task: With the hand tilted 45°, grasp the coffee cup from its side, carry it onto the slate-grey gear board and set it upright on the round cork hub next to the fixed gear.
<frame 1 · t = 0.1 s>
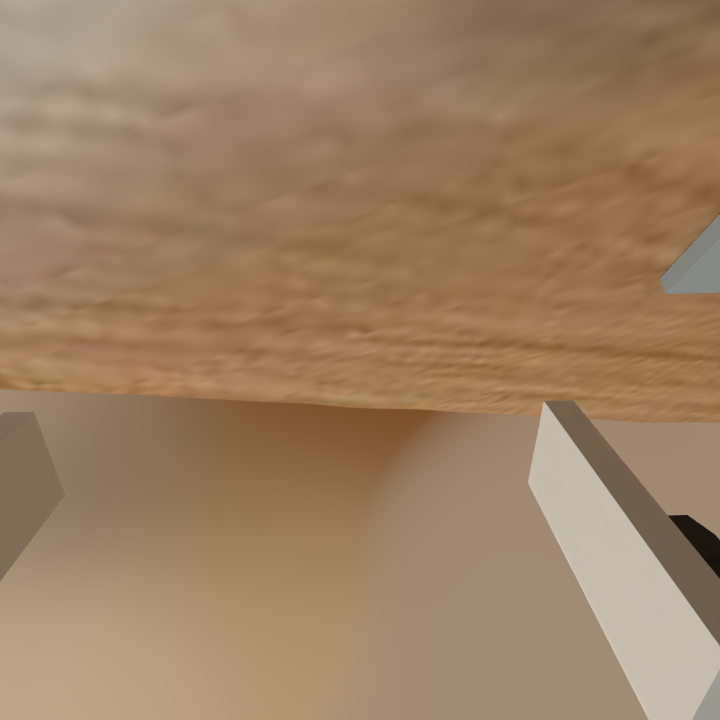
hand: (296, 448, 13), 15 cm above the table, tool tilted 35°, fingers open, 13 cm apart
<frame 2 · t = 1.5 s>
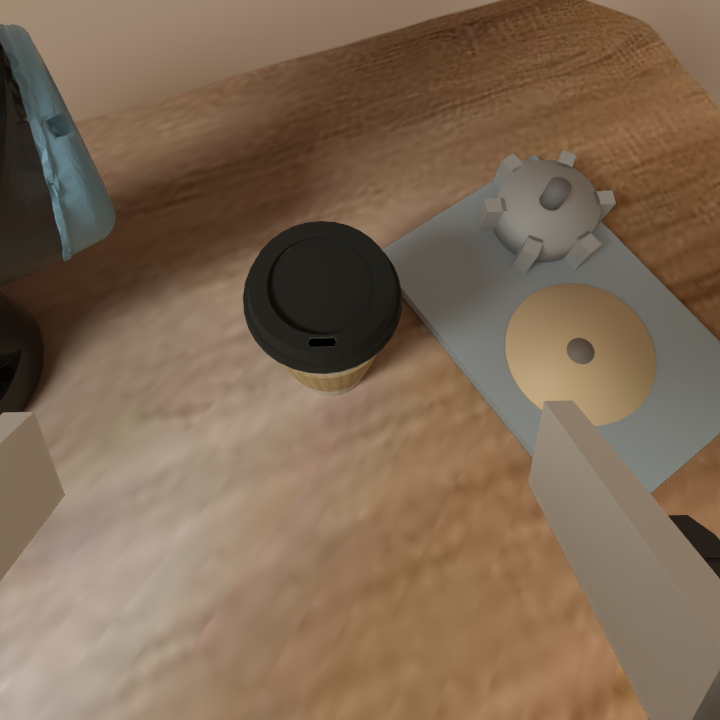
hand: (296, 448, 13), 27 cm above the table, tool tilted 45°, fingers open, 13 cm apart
gear board: (558, 325, 43), on the table
coffee cup: (330, 362, 42), on the table
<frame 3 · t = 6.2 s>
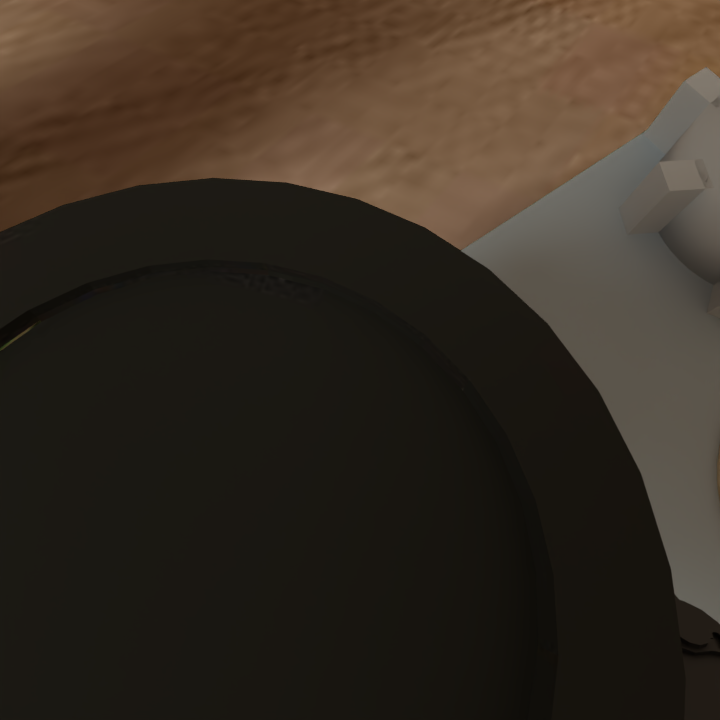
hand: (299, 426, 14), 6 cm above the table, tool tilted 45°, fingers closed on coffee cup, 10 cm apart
coffee cup: (314, 533, 18), on the table, touching gripper
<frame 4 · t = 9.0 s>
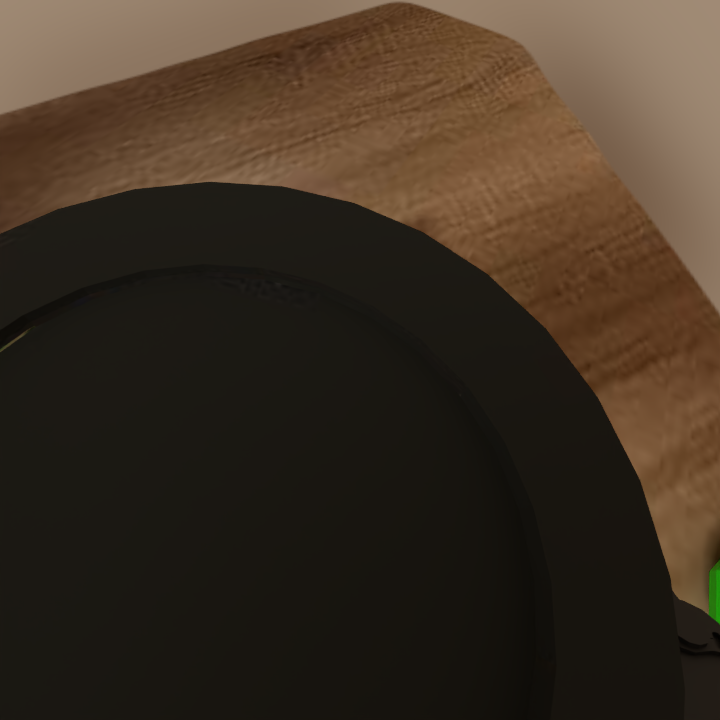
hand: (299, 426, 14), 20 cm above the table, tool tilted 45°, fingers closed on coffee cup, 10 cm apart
coffee cup: (313, 535, 18), point 14 cm above the table, touching gripper
when the fingers open (9 cm above the table, at t = 11.8 s): coffee cup drops 1 cm, resting on gear board.
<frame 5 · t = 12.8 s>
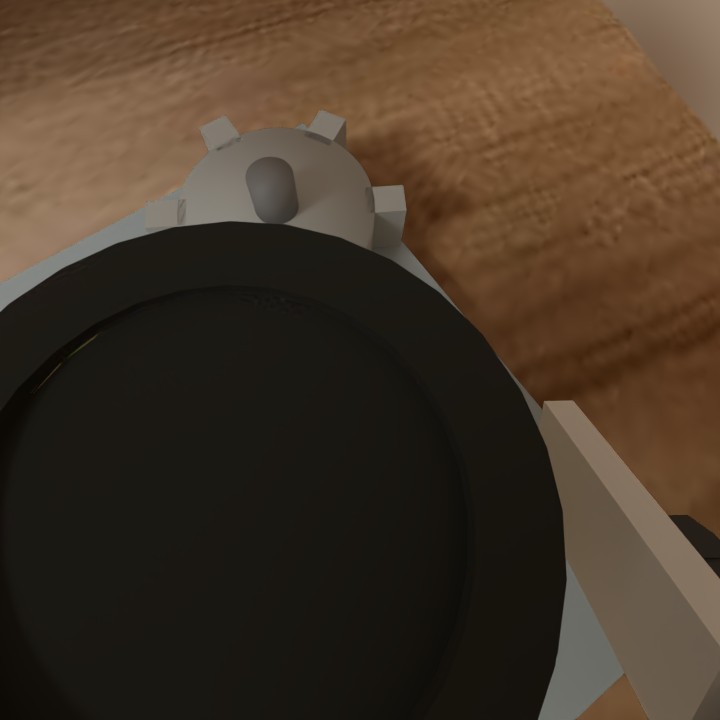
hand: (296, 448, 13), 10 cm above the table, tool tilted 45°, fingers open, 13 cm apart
gear board: (301, 444, 22), on the table
coffee cup: (316, 514, 20), point 1 cm above the table, touching gear board
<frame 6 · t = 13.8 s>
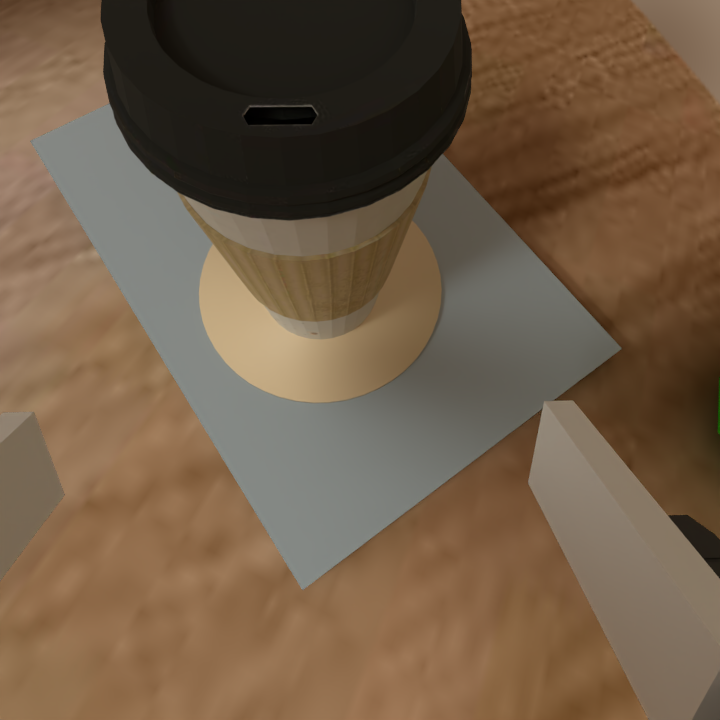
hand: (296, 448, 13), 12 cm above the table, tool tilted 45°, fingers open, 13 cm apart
gear board: (308, 249, 28), on the table
coffee cup: (320, 287, 26), point 1 cm above the table, touching gear board
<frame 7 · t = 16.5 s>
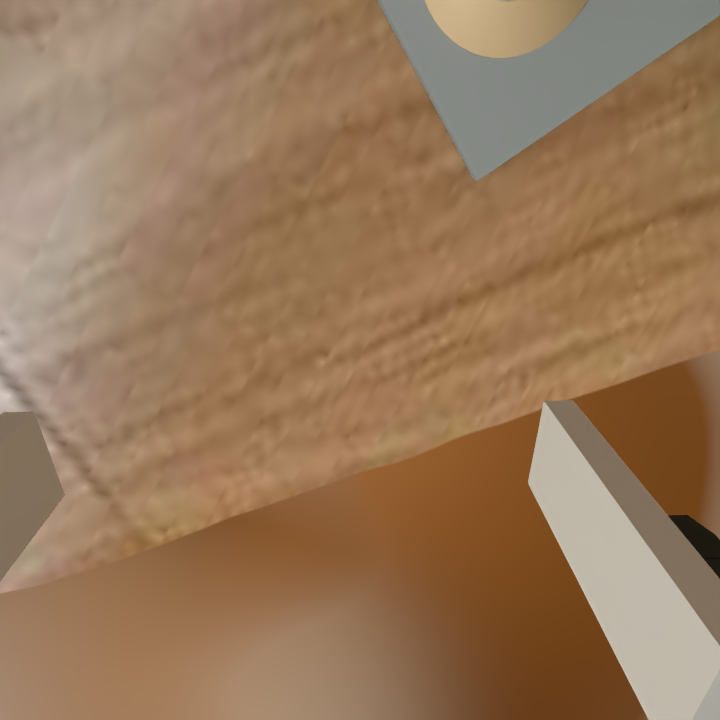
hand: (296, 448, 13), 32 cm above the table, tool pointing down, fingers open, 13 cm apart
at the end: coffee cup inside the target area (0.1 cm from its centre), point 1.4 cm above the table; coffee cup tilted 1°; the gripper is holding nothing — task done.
